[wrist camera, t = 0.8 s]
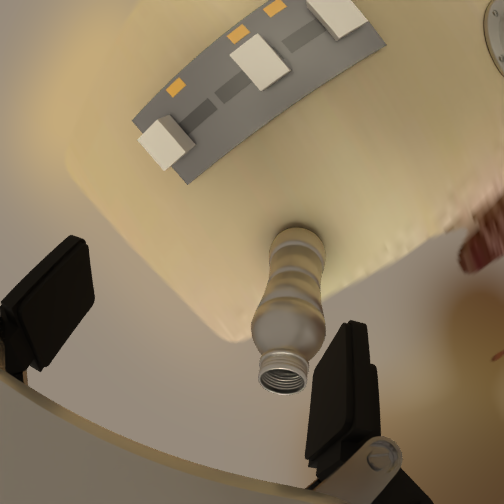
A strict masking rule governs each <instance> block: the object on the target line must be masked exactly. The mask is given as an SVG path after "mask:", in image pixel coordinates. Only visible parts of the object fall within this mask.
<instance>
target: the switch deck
mask: <svg viewBox="0 0 504 504" xmlns="http://www.w3.org/2000/svg"><path fill="white" fill-rule="evenodd" d="M355 6H356V5H355ZM360 12H361V11H360ZM364 17H365V16H364ZM365 18H366V17H365ZM257 33H258V34H259V35H261V36H262V37H263V38H264V39H265V40H266V41H267V42H268V44H269V45H270V46H271V47H272V48H273V49H274V50H275V52H276V53H277V54H278V55H279V56H280V57H281V59H282V60H283V61H284V62H285V63H286V64H287V66H288V67H289V68H290V69H291V70H292V71H290V72H289V73H288V74H286V75H285V76H283V77H282V78H280V79H279V80H278V81H276V82H275V83H273V84H272V85H271V86H269V87H268V88H267V89H265V90H263V91H260V90H259V89H258V87H257V86H256V85H255V84H254V83H253V82H252V80H251V79H250V78H249V77H248V76H247V75H246V73H245V72H244V71H243V70H242V69H241V68H240V67H239V65H238V64H237V63H236V62H235V61H234V60H233V59H232V58H231V57H230V54H231V53H232V52H233V51H235V50H236V49H237V48H239V47H240V46H241V45H242V44H244V43H245V42H246V41H248V40H249V39H250V38H252V37H253V36H254V35H256V34H257ZM384 46H386V44H385V42H384V41H383V40H382V38H381V37H380V36H379V34H378V33H377V32H376V30H375V29H374V28H373V26H372V25H371V24H370V23H369V21H367V22H366V23H365V24H364V25H363V26H361V27H359V28H358V29H356V30H354V31H353V32H351V33H349V34H348V35H346V36H344V37H343V38H341V39H339V40H338V41H335V39H334V38H333V37H332V36H331V34H330V33H329V32H328V31H327V30H326V28H325V27H324V26H323V25H322V24H321V23H320V21H319V20H318V19H317V18H316V17H315V16H314V15H313V13H312V12H311V11H310V10H309V9H308V8H307V4H306V0H269V1H268V2H266V3H265V4H263V5H262V6H260V7H259V8H258V9H256V10H255V11H253V12H252V13H251V14H249V15H248V16H246V17H245V18H244V19H242V20H241V21H240V22H238V23H237V24H236V25H235V26H233V27H232V28H231V29H229V30H228V31H227V32H226V33H224V34H223V35H222V36H221V37H219V38H218V39H217V40H216V41H215V42H213V43H212V44H211V45H210V46H209V47H207V48H206V49H205V50H204V51H203V52H201V53H200V54H199V55H198V56H197V57H196V58H195V59H194V60H192V61H191V62H190V63H189V64H188V65H187V66H186V67H185V68H184V69H182V70H181V71H180V72H179V73H178V74H177V75H176V76H175V77H174V78H173V79H172V80H171V81H170V82H169V83H168V84H167V85H166V86H165V87H164V88H163V89H162V90H161V91H160V92H159V93H158V94H157V95H156V96H155V97H154V98H153V99H152V100H151V101H150V102H149V103H148V104H147V105H146V106H145V107H144V108H143V109H142V110H141V111H140V112H139V113H138V114H137V115H136V116H135V118H134V119H133V120H132V122H133V123H134V124H135V125H136V126H137V127H138V128H139V130H140V131H141V132H142V133H144V132H145V131H146V130H147V129H148V128H149V127H150V126H151V125H152V124H153V123H154V122H155V121H156V120H157V119H159V118H162V117H165V116H167V115H170V116H171V117H172V118H173V119H174V120H175V121H176V123H177V124H178V125H179V126H180V127H181V128H182V129H183V131H184V132H185V133H186V134H187V135H188V136H189V138H190V139H191V140H192V141H193V142H194V143H195V146H194V147H193V148H192V149H190V150H189V151H188V152H187V153H186V154H185V155H184V156H183V157H181V158H180V159H179V160H178V161H177V162H176V163H175V164H173V165H172V168H173V169H174V170H175V171H176V172H177V173H178V175H179V176H180V177H181V178H182V179H183V180H184V181H185V183H186V184H187V185H188V184H189V183H191V182H192V181H193V180H194V179H195V178H197V177H198V176H199V175H200V174H202V173H203V172H204V171H205V170H206V169H208V168H209V167H210V166H211V165H213V164H214V163H215V162H216V161H218V160H219V159H220V158H221V157H223V156H224V155H225V154H227V153H228V152H229V151H230V150H232V149H233V148H234V147H236V146H237V145H238V144H240V143H241V142H242V141H243V140H245V139H246V138H247V137H249V136H250V135H251V134H253V133H254V132H255V131H257V130H258V129H259V128H261V127H262V126H264V125H265V124H266V123H268V122H269V121H270V120H272V119H273V118H275V117H276V116H277V115H279V114H280V113H282V112H283V111H284V110H286V109H287V108H289V107H290V106H292V105H293V104H294V103H296V102H297V101H299V100H300V99H302V98H303V97H305V96H306V95H308V94H309V93H311V92H312V91H314V90H315V89H317V88H318V87H320V86H321V85H323V84H324V83H326V82H327V81H329V80H330V79H332V78H333V77H335V76H337V75H338V74H340V73H341V72H343V71H344V70H346V69H348V68H349V67H351V66H352V65H354V64H356V63H357V62H359V61H361V60H362V59H364V58H366V57H367V56H369V55H371V54H372V53H374V52H376V51H377V50H379V49H381V48H383V47H384Z"/></svg>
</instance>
